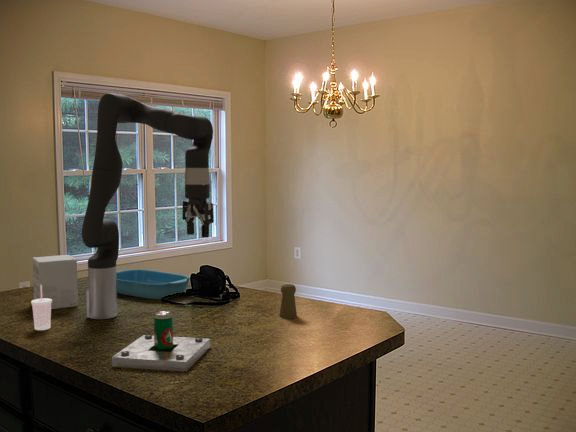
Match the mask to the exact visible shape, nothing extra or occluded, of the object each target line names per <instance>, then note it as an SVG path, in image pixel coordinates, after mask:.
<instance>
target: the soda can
mask: <svg viewBox="0 0 576 432" xmlns="http://www.w3.org/2000/svg"><path fill="white" fill-rule="evenodd" d="M153 336H154V351H162V352H171V351H172V350H173V337H174V317H173V314H172V312H171V311H168V310H167V311H166V310H163V311H162V310H161V311H157V312H155V313H154V316H153Z"/></svg>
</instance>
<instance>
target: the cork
mask: <svg viewBox="0 0 576 432" xmlns="http://www.w3.org/2000/svg"><path fill="white" fill-rule="evenodd" d="M296 290H297V288H296V286H295V285H294V284H291V283H284V284H282V285H281V287H280V293H281V294H282V295H281V302H280V309H279V318H282V319H295V318H297V317H298V312H297V306H296V305H297V304H296V297H295V294H296Z"/></svg>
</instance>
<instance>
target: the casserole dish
mask: <svg viewBox="0 0 576 432" xmlns="http://www.w3.org/2000/svg"><path fill="white" fill-rule="evenodd" d="M116 274H117V294H121V295H125V296H130V297H131V296H133V297H136V298H142V299H143V298H144V299H148V300H149V299H150V300H163V299H162V298H163V297H165V296H168V295H173V294H176V293H181V292H183V293H184V292H185V291H186V289H187V287H188V284H189V281H190V279H191V278H190V276H188V275H187V274H186V275H185V274H180V273H174V272H173V273H172V272H166V271H159V270H153V269H152V270H151V269H140V268H139V269H138V268H135V269H124V270H122V269H121V270H116ZM181 294H182V293H181Z"/></svg>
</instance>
